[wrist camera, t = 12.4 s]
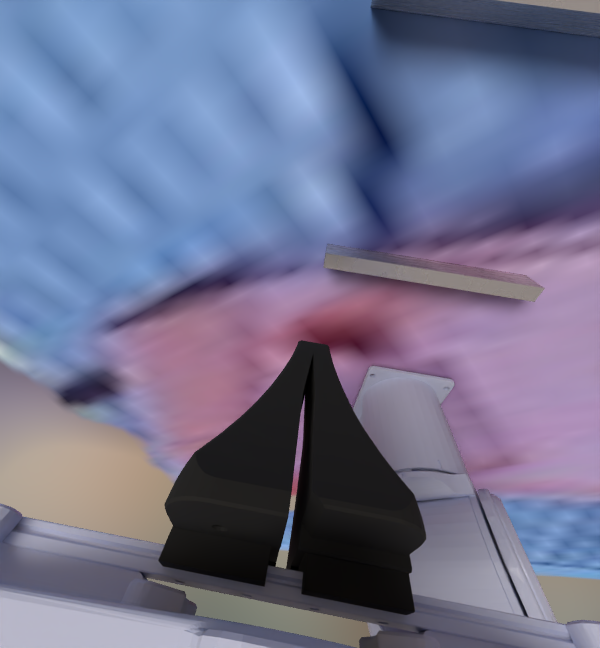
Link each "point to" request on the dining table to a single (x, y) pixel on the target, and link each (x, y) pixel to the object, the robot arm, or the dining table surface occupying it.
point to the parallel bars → (483, 6)
